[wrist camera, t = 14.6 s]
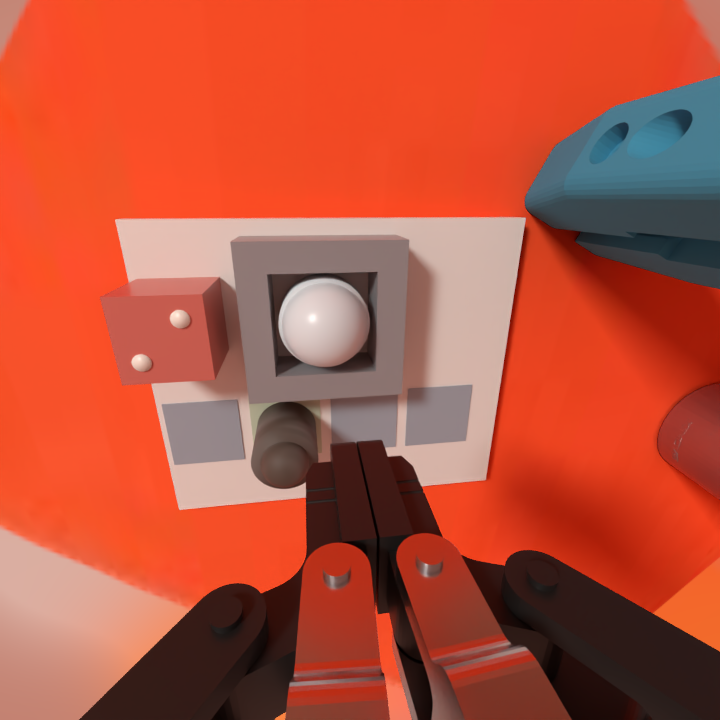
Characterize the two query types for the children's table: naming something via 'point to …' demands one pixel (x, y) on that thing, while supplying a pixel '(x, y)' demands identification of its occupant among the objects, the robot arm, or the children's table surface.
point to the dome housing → (321, 255)
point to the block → (642, 184)
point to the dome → (323, 320)
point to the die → (167, 329)
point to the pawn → (284, 445)
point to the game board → (421, 351)
